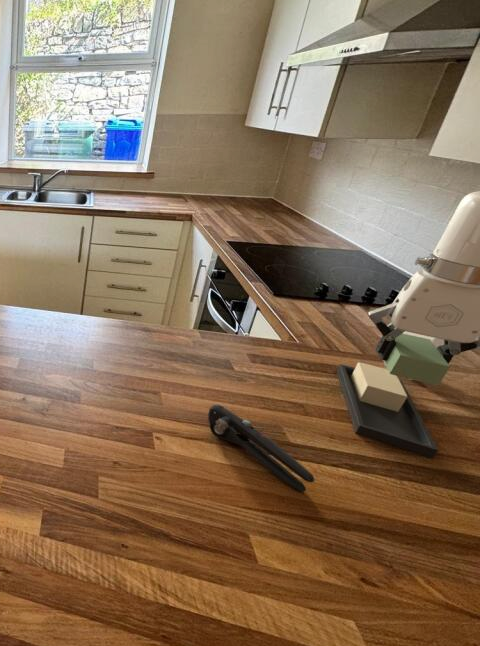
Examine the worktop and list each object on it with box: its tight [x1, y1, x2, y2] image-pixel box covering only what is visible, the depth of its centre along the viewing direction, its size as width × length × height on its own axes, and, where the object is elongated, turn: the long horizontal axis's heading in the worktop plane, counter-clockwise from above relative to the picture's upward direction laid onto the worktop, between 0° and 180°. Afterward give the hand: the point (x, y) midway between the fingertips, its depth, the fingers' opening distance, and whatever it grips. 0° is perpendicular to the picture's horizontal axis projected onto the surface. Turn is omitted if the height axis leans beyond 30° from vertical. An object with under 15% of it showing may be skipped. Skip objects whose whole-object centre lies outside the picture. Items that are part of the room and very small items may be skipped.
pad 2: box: [382, 333, 451, 387], centre depth 72 cm, size 6×10×4 cm, turn 147°
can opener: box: [207, 404, 315, 493], centre depth 70 cm, size 18×7×6 cm, turn 23°
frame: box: [336, 363, 439, 459], centre depth 83 cm, size 11×24×2 cm, turn 147°
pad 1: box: [351, 361, 407, 412], centre depth 86 cm, size 6×10×4 cm, turn 147°
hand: (407, 361), depth 72 cm, fingers closed on pad 2, 6 cm apart
